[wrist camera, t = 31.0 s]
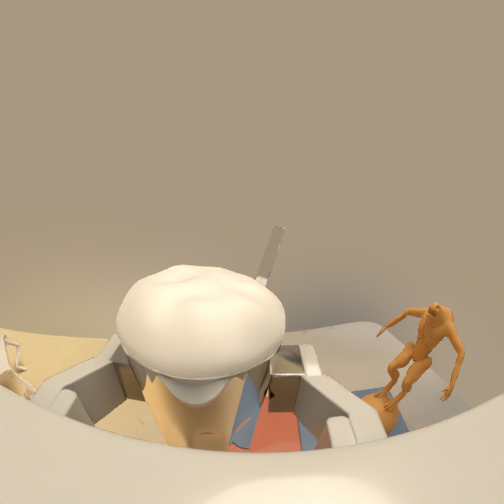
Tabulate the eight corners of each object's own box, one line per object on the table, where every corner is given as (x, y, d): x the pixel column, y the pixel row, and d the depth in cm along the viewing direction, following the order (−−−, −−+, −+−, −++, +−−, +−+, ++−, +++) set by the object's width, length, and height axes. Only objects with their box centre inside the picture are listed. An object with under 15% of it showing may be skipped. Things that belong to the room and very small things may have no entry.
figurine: (325, 404, 21) (357, 283, 17) (378, 386, 22) (416, 274, 18) (370, 474, 13) (449, 356, 9) (426, 442, 14) (497, 325, 11)
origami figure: (50, 432, 14) (24, 395, 13) (-14, 440, 9) (-43, 404, 8) (44, 355, 23) (30, 321, 22) (-7, 365, 18) (-23, 332, 17)
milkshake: (293, 448, 10) (345, 245, 7) (204, 513, 7) (155, 312, 3) (228, 400, 13) (233, 214, 10) (144, 445, 10) (86, 238, 6)
